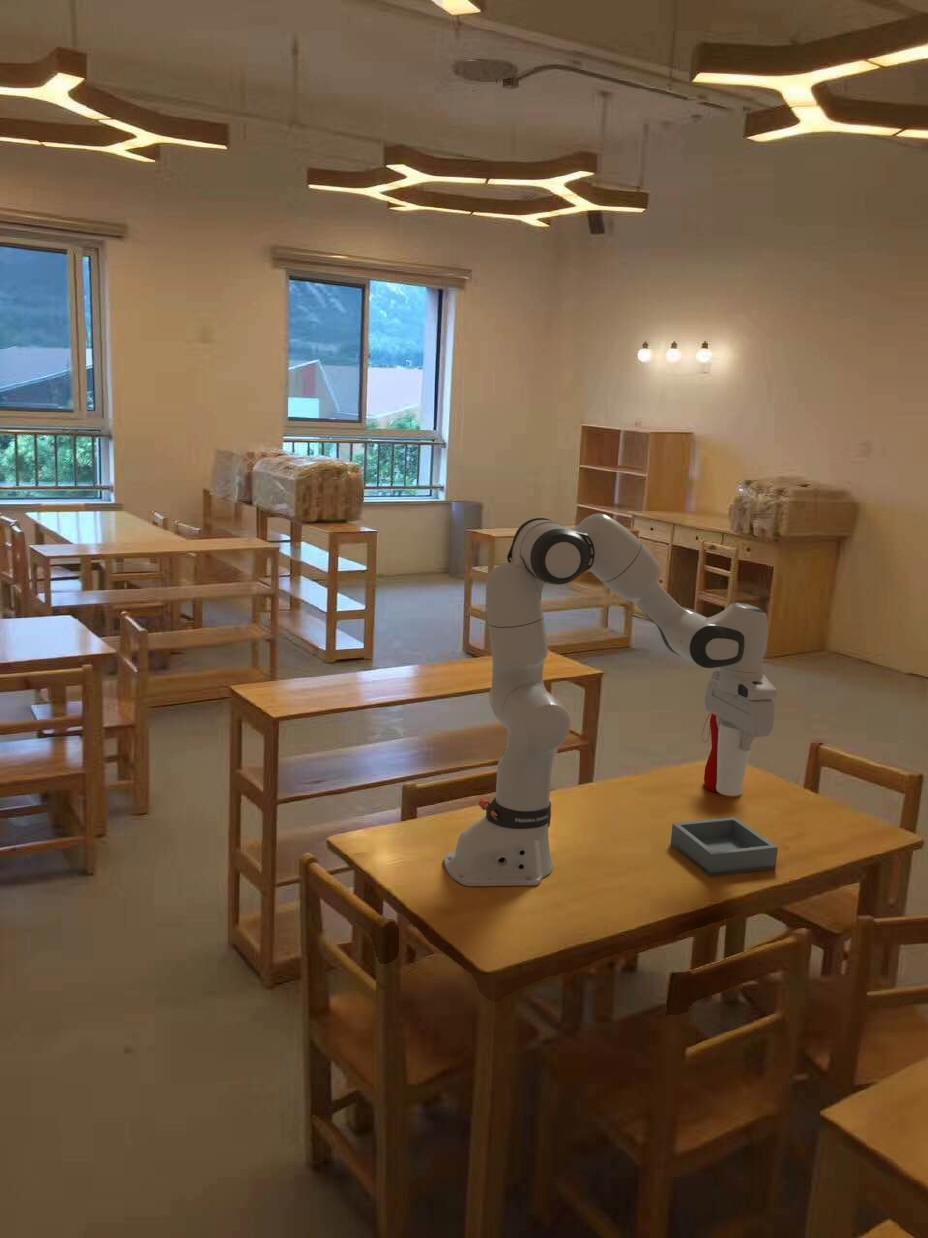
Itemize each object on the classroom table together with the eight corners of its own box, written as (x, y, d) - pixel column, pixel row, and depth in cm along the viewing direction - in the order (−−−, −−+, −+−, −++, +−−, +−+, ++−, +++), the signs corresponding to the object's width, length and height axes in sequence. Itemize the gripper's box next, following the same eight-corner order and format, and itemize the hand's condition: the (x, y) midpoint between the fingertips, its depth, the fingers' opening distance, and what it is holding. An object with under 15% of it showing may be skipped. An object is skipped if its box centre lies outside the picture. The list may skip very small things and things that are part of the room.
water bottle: (695, 779, 263) (705, 687, 258) (738, 783, 262) (749, 691, 257) (697, 792, 255) (707, 697, 249) (742, 796, 253) (753, 701, 248)
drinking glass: (745, 800, 210) (753, 731, 208) (712, 795, 212) (719, 727, 209) (744, 789, 217) (752, 722, 214) (712, 785, 218) (719, 718, 216)
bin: (709, 877, 208) (712, 854, 207) (670, 844, 223) (672, 823, 222) (775, 869, 213) (778, 847, 212) (732, 837, 228) (735, 817, 227)
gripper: (700, 668, 218) (694, 729, 221) (755, 694, 199) (748, 761, 202) (725, 667, 220) (719, 727, 223) (782, 693, 201) (774, 759, 204)
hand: (733, 743), depth 212 cm, fingers closed on drinking glass, 6 cm apart
